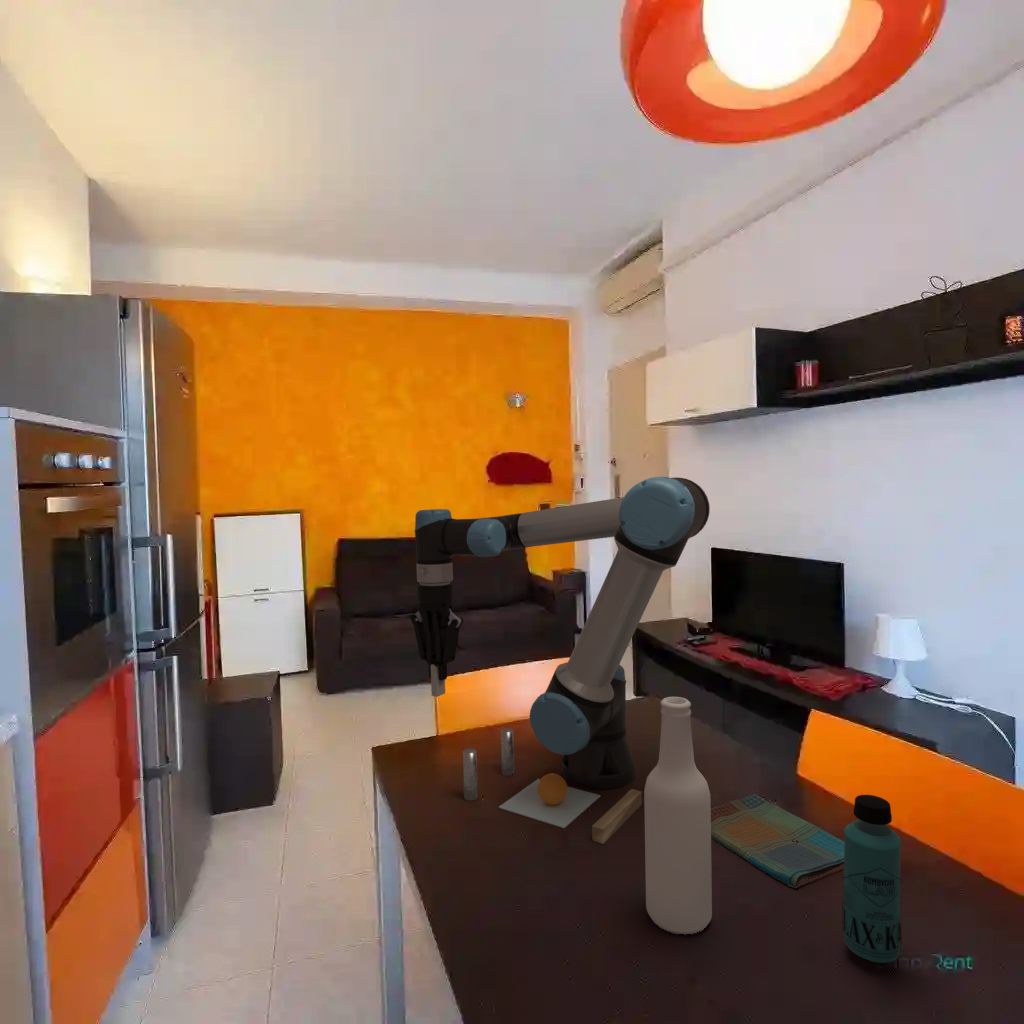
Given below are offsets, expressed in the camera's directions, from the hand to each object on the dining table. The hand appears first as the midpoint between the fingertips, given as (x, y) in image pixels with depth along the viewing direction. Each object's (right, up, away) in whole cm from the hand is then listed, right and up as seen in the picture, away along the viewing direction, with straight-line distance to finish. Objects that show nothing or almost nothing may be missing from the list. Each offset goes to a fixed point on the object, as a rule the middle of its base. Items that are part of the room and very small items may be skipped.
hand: (438, 694), depth 140 cm
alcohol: (+38, -17, -48) cm, 64 cm away
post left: (+8, -17, -12) cm, 22 cm away
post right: (+15, -16, -2) cm, 22 cm away
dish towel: (+59, -17, -29) cm, 68 cm away
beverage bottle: (+60, -17, -57) cm, 85 cm away
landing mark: (+23, -16, -15) cm, 31 cm away
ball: (+23, -14, -15) cm, 31 cm away
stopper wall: (+34, -16, -22) cm, 44 cm away
